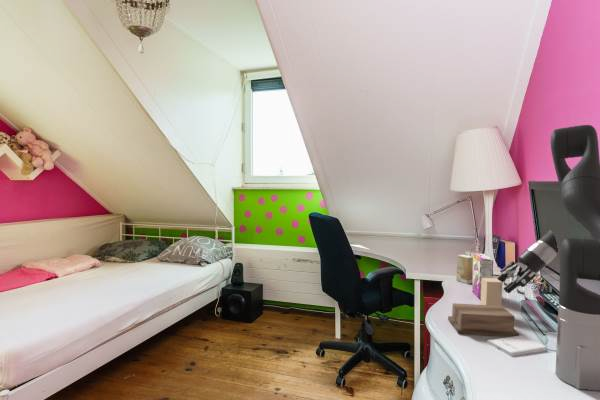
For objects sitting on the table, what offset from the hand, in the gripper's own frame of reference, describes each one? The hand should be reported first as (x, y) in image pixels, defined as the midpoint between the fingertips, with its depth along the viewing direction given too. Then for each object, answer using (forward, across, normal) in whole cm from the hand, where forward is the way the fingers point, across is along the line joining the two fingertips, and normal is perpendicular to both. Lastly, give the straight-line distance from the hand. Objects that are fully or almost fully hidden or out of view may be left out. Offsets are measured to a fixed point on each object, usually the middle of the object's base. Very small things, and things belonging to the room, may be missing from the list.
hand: (500, 287), depth 125 cm
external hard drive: (+11, +26, +3) cm, 29 cm away
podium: (+14, +14, -1) cm, 20 cm away
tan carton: (+9, 0, +5) cm, 10 cm away
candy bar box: (+6, -20, +8) cm, 22 cm away
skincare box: (+6, -41, +8) cm, 42 cm away
